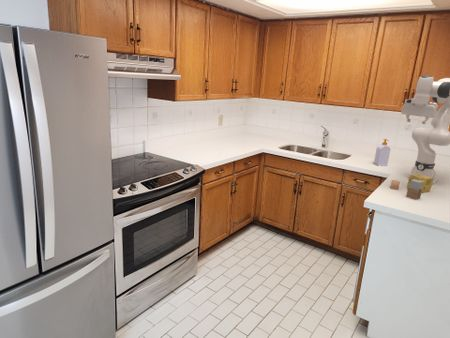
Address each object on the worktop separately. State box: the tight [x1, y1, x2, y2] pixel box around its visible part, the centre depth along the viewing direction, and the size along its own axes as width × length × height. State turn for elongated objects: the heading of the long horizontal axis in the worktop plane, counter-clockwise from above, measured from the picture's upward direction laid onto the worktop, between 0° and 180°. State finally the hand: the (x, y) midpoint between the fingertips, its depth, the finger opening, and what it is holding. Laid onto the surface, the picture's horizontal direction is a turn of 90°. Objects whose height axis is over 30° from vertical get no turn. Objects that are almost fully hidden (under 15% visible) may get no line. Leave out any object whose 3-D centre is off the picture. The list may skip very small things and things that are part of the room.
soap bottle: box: [373, 138, 391, 167], centre depth 277 cm, size 9×7×23 cm
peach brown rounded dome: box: [389, 179, 401, 191], centre depth 217 cm, size 5×5×5 cm
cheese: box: [406, 174, 434, 194], centre depth 217 cm, size 10×11×10 cm
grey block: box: [409, 179, 423, 190], centre depth 200 cm, size 5×5×5 cm
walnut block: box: [405, 188, 422, 201], centre depth 201 cm, size 6×6×6 cm
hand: (415, 123), depth 209 cm, fingers open, 8 cm apart
